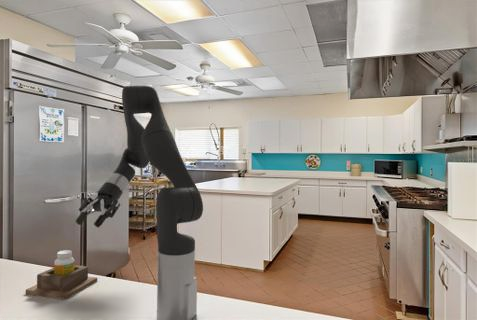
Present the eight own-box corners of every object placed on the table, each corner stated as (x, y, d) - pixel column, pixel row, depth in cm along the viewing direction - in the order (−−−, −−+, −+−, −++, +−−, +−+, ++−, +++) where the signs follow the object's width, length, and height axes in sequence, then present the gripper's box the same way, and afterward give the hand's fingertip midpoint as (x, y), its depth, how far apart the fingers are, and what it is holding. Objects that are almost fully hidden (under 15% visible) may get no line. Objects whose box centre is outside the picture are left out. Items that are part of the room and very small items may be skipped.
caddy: (97, 281, 96) (97, 265, 96) (65, 299, 83) (66, 281, 83) (61, 276, 99) (61, 261, 99) (25, 293, 86) (25, 276, 86)
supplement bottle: (64, 287, 88) (65, 255, 88) (49, 285, 89) (50, 253, 89) (77, 280, 93) (78, 250, 93) (63, 278, 94) (63, 248, 94)
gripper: (93, 180, 109) (64, 216, 99) (123, 182, 104) (96, 220, 93) (105, 193, 114) (78, 228, 104) (133, 195, 109) (108, 233, 98)
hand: (86, 224), depth 99 cm, fingers open, 8 cm apart
